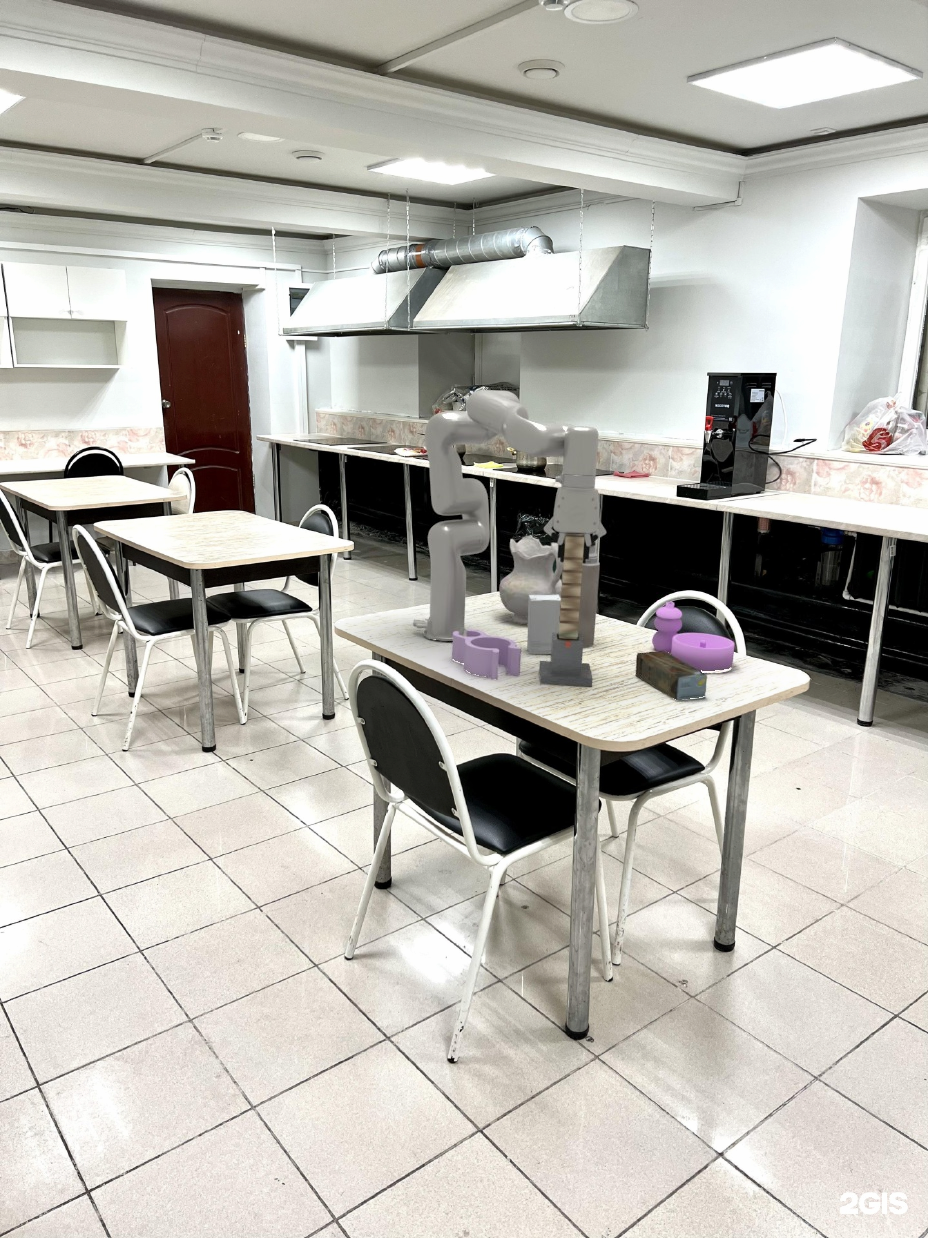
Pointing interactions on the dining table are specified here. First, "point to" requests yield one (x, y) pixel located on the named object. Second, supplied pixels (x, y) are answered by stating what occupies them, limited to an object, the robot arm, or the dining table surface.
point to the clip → (486, 653)
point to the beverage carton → (671, 675)
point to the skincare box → (542, 622)
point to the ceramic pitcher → (530, 576)
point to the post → (571, 586)
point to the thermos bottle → (588, 597)
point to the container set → (691, 642)
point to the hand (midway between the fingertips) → (572, 561)
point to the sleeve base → (566, 664)
